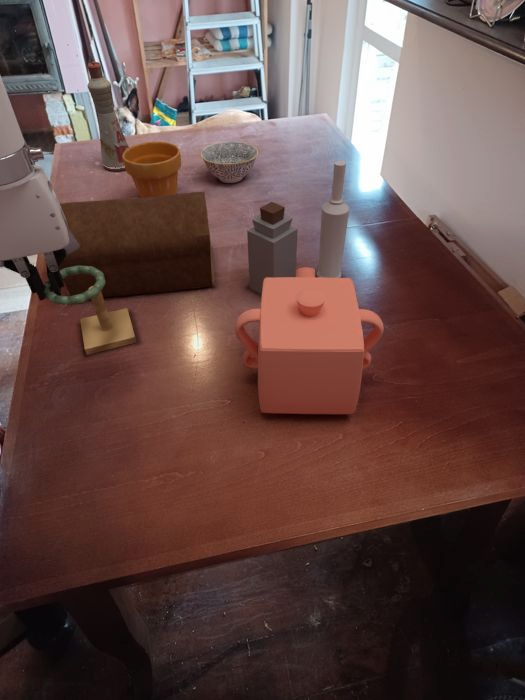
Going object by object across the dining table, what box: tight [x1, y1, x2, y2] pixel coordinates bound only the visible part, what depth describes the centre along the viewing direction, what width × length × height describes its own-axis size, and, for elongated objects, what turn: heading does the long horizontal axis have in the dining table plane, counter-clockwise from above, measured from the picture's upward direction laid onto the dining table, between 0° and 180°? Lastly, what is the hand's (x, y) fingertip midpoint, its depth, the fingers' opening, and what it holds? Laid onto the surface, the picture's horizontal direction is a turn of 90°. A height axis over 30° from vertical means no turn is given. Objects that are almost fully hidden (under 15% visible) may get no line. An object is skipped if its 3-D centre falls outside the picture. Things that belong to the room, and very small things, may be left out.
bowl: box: [199, 141, 259, 184], centre depth 135 cm, size 16×16×8 cm
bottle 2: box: [316, 160, 351, 278], centre depth 92 cm, size 5×5×25 cm
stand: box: [79, 286, 137, 356], centre depth 86 cm, size 9×9×10 cm
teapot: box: [234, 266, 385, 415], centre depth 77 cm, size 25×23×18 cm
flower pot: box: [122, 141, 182, 198], centre depth 123 cm, size 14×14×13 cm
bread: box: [58, 191, 216, 298], centre depth 98 cm, size 18×30×16 cm, turn 98°
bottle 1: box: [87, 61, 130, 172], centre depth 135 cm, size 9×9×28 cm
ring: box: [43, 265, 106, 306], centre depth 68 cm, size 8×8×1 cm
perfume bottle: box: [246, 201, 298, 296], centre depth 93 cm, size 7×7×18 cm
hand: (50, 292), depth 67 cm, fingers closed on ring, 1 cm apart
